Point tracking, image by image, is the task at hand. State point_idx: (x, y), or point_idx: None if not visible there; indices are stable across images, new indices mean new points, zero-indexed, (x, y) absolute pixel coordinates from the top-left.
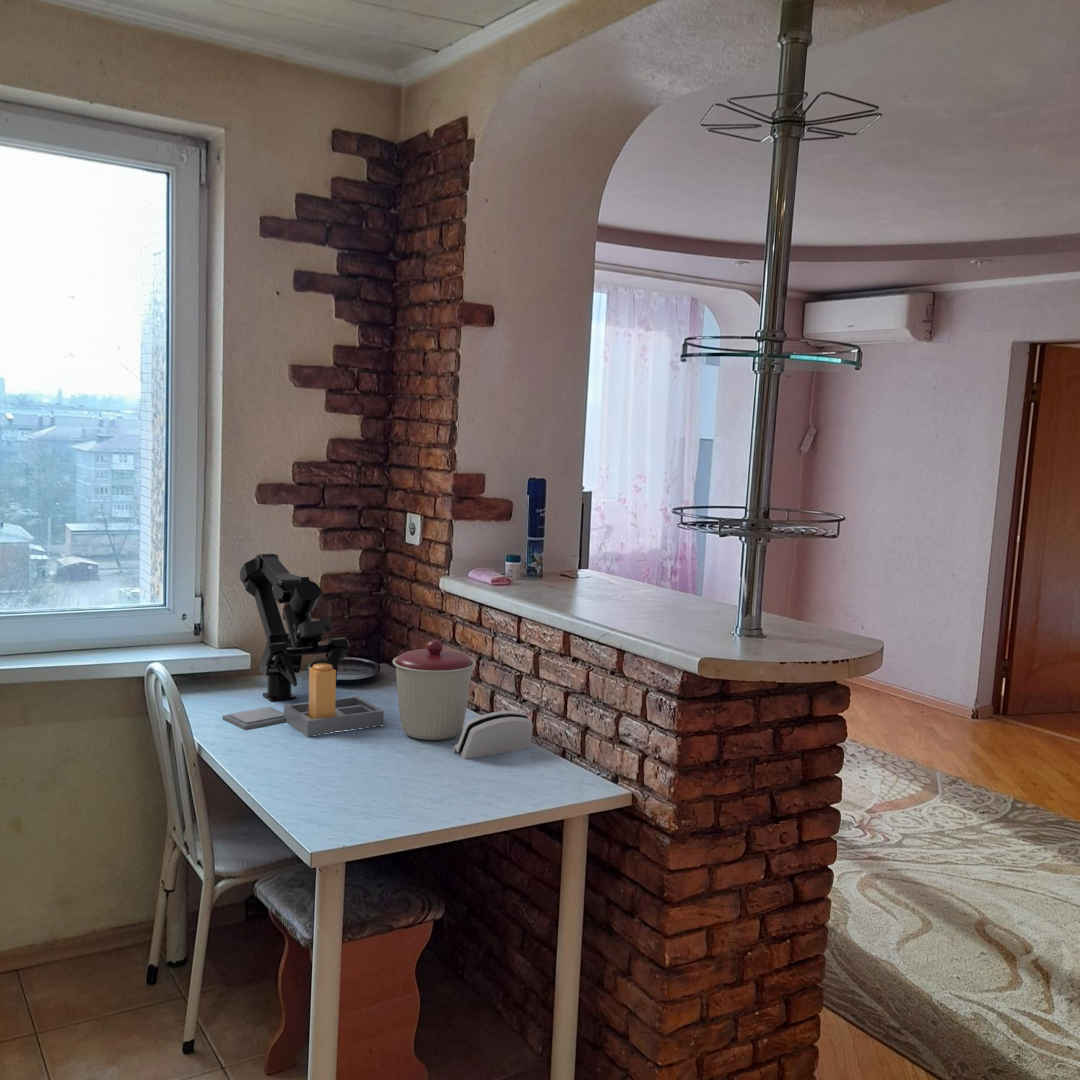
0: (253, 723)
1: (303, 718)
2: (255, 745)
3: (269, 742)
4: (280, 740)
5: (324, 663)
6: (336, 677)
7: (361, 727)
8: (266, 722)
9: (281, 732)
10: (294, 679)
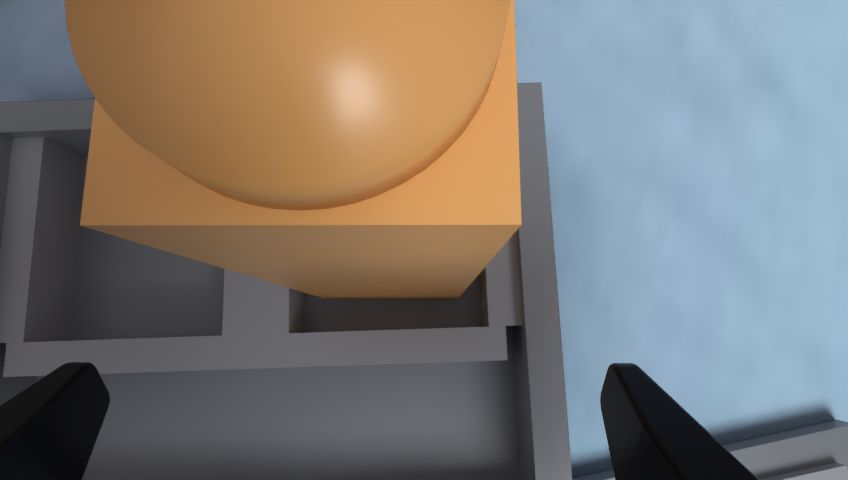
0: (788, 458)
1: (546, 155)
2: (823, 103)
3: (741, 121)
4: (676, 131)
5: (157, 145)
6: (40, 379)
7: None
8: None
9: (632, 270)
10: (664, 405)
